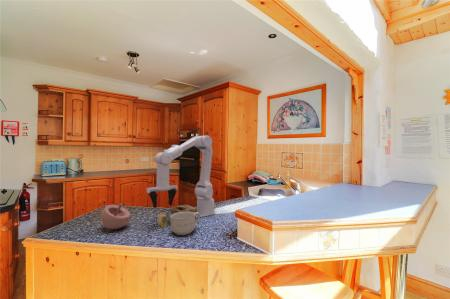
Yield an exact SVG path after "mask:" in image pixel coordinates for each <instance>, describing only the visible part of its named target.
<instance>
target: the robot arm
mask: <svg viewBox="0 0 450 299" xmlns="http://www.w3.org/2000/svg"><path fill="white" fill-rule="evenodd" d="M192 147H195V148H197V149H198V150H200V152H201V153H202V155H201V157H202V158H201V166H200V167H201V168H200V175H199V180H198V182H197V183H196V186H195V187H194V195H195V196H196V212H199V213H200V215H201V217H200V218H205V217H208V216H212V215H215V214H216V212H215V199H214V198H213V194H214V190H213V184H212V183H211V180H210V179H211V170H212V160H213V153H214V152H213V139H212V138H211V136H209V135H208V134H207V135H206V134H205V135H196V136H193V137H191V138H189V139H188V140H185V142H184V143H181V144H180V145H178V144H171V147H169V148H168V149H164V150H163V152H157V153H156V155H155V157H154V161H155V164H156V186H152V187H146V193H147V194H148V196H149V198H150V201H151V204H152V208H153V209H157V199H158V193H157V192H165V191H167V194H168V205H169V206H172V205H173V201H174V198H175V196H176V194H177V192H178V191H177V190H178V189H179V188H178V185H176V184H175V185H172V184H171V185H170V164H172V161H173V160H175V159H176V158H178V157H180V156H182V154H183V152H185V151H187V150H188V149H190V148H192ZM196 216H198V214H197V215H196Z"/></svg>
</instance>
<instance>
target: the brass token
mask: <svg viewBox="0 0 450 299" xmlns="http://www.w3.org/2000/svg"><path fill="white" fill-rule="evenodd" d="M157 225H158V226H159V227H160V226H161V227H160V228H162V229H163V228H167V227H168V216H167V215H166V214H165V213H159V214H157Z"/></svg>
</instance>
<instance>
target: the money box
mask: <svg viewBox="0 0 450 299" xmlns="http://www.w3.org/2000/svg"><path fill="white" fill-rule="evenodd" d="M178 212H193V213H195V212H197V207H194V206H192V205H188V204H186V203H185V204H182V205H176V206H171V207H170V216H171V215H172V214H174V213H178ZM196 220H197V215H196V216H195V221H196Z"/></svg>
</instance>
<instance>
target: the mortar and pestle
mask: <svg viewBox="0 0 450 299" xmlns="http://www.w3.org/2000/svg"><path fill="white" fill-rule="evenodd" d="M131 216H132V215H131V211H129V210H128V209H126V208H125V207H123V204H122V203H121V202H120V203H118V205H117V204H107V205H106V206H105V207H104V208H103V209H102V211H101V214H100V221H101V224H102V225H103V226H104V227H105V228H107V229H109V230H119V229H121V228H123V227H124V226H126V224H128V222H129V221H130V219H131Z"/></svg>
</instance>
